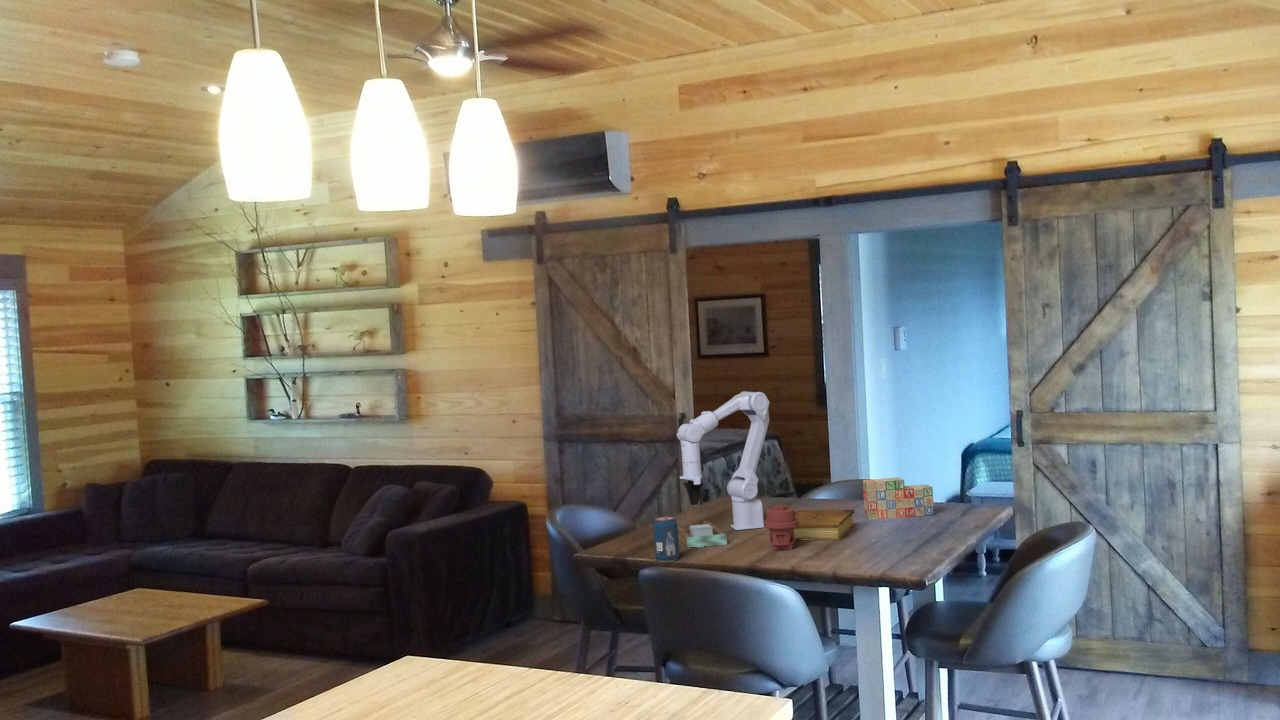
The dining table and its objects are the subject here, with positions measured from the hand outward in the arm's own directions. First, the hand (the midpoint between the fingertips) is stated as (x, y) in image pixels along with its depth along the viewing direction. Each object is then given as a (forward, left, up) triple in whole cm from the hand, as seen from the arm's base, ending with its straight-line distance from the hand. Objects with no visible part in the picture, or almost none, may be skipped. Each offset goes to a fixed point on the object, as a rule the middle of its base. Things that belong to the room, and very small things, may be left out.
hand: (694, 504), depth 356 cm
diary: (-35, +14, -11) cm, 39 cm away
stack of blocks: (-67, -1, -10) cm, 68 cm away
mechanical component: (-19, +32, -10) cm, 39 cm away
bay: (0, +4, -10) cm, 11 cm away
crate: (+1, +11, -10) cm, 15 cm away
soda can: (+15, +32, -10) cm, 37 cm away
